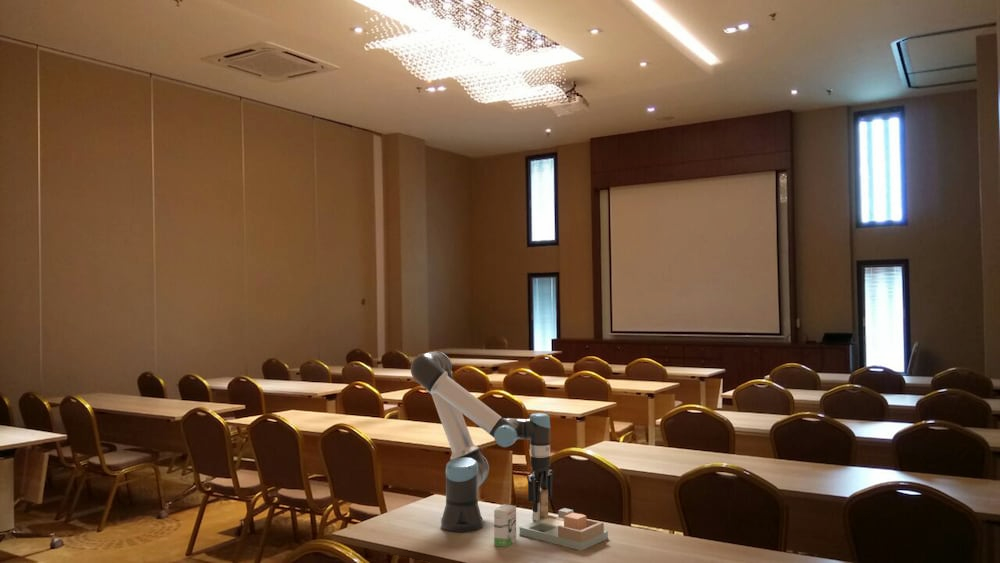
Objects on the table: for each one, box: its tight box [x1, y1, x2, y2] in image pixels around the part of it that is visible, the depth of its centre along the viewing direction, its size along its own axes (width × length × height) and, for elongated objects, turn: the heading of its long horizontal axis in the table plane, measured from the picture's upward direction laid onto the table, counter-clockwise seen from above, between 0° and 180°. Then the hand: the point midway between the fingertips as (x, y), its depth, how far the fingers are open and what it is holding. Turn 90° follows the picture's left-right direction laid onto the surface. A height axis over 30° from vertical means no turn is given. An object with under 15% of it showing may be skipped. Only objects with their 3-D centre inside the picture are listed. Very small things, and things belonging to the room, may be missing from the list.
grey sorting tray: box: [519, 517, 609, 552], centre depth 250 cm, size 26×16×6 cm, turn 49°
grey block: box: [557, 507, 574, 519], centre depth 269 cm, size 4×4×4 cm
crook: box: [534, 487, 585, 522], centre depth 268 cm, size 18×9×11 cm, turn 49°
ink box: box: [493, 503, 517, 548], centre depth 244 cm, size 9×5×12 cm, turn 157°
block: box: [564, 512, 587, 530], centre depth 247 cm, size 6×6×6 cm
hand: (540, 518), depth 270 cm, fingers closed on crook, 4 cm apart
